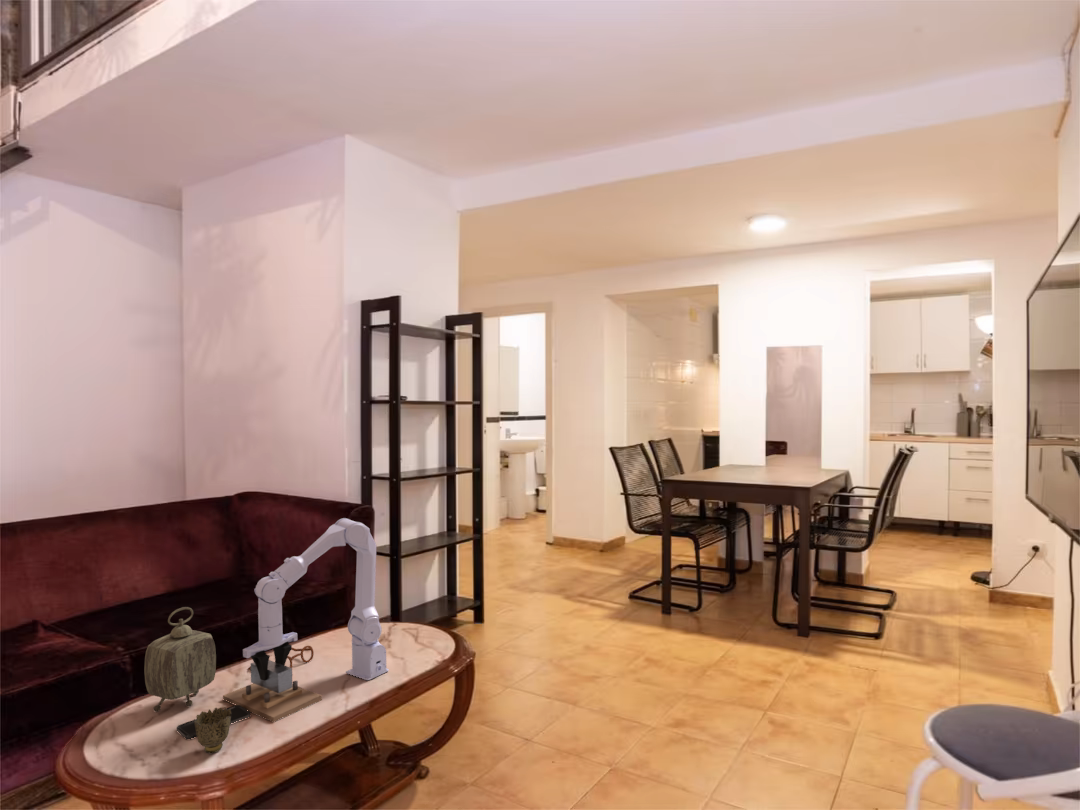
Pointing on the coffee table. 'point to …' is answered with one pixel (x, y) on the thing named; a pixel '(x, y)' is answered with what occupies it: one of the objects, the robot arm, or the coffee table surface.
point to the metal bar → (273, 677)
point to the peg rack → (272, 700)
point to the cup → (212, 728)
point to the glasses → (299, 655)
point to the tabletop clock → (179, 662)
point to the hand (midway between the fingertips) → (271, 676)
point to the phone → (189, 727)
